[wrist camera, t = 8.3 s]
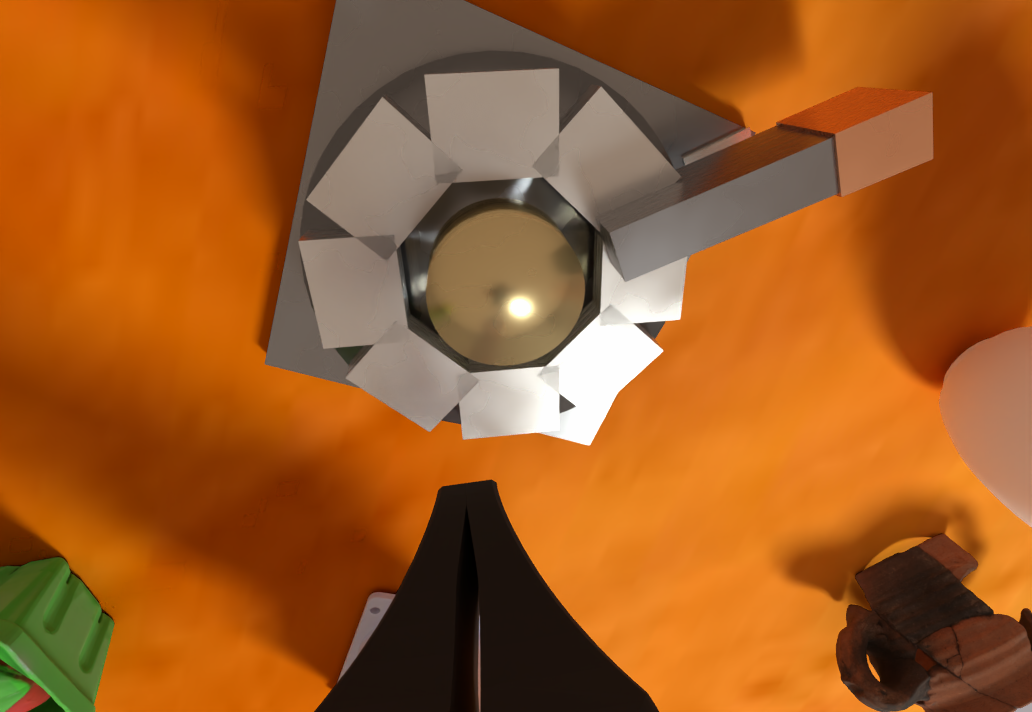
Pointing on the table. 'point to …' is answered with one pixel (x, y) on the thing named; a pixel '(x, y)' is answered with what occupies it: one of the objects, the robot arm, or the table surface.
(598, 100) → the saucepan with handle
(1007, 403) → the air blower bulb
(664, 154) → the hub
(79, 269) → the table surface
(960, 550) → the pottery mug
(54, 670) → the fruit basket
